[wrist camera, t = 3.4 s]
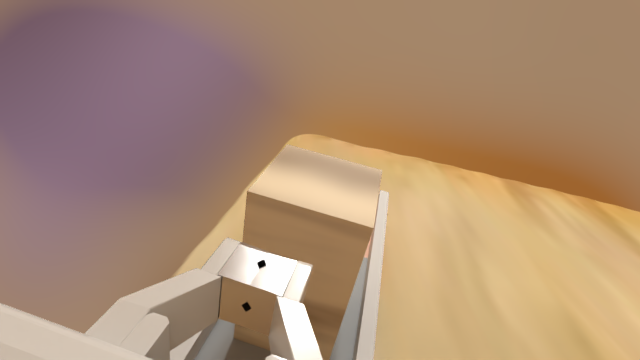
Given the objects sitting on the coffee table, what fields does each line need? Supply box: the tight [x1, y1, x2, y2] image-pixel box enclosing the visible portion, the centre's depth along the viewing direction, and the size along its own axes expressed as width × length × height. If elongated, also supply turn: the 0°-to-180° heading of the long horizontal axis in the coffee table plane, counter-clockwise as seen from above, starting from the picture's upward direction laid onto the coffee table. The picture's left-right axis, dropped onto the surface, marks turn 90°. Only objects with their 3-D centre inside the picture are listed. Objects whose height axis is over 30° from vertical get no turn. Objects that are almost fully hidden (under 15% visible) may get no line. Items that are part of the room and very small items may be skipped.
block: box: [234, 144, 382, 360], centre depth 20 cm, size 6×6×11 cm
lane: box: [170, 190, 389, 360], centre depth 25 cm, size 32×11×4 cm, turn 167°
